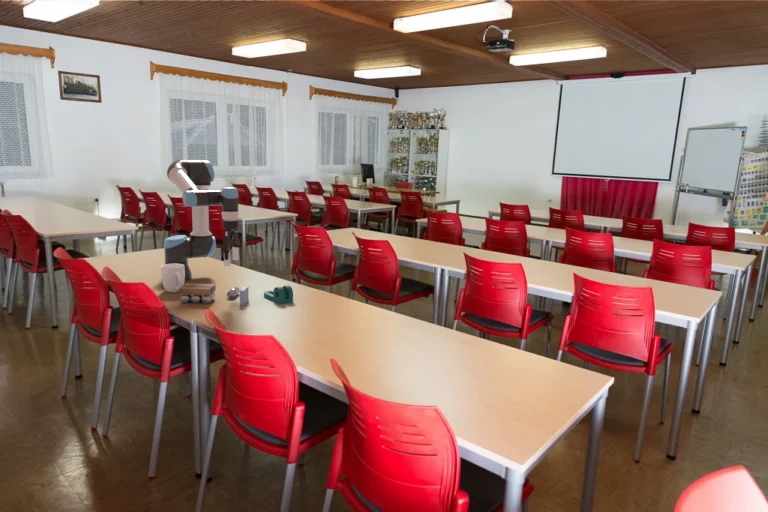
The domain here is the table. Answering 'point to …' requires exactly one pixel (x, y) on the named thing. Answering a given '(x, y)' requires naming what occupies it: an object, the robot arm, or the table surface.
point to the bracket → (280, 295)
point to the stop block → (244, 295)
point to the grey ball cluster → (197, 298)
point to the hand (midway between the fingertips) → (231, 263)
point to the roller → (233, 292)
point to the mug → (173, 276)
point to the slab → (197, 289)
